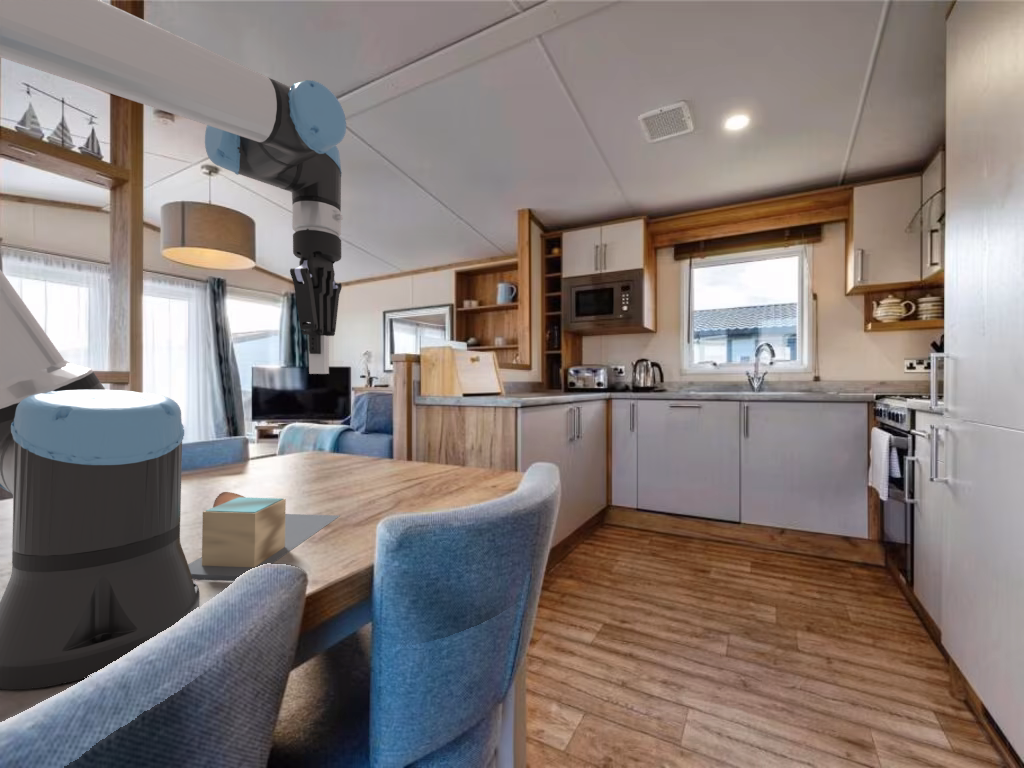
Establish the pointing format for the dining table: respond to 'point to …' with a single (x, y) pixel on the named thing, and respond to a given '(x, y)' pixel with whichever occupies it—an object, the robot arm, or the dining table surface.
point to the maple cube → (243, 532)
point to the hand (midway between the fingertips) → (319, 373)
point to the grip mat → (295, 534)
